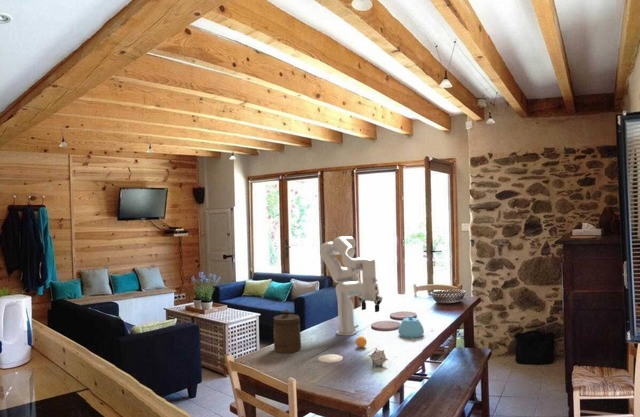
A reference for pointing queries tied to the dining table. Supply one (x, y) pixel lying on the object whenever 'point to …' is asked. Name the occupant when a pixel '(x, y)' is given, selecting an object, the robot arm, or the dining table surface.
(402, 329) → the sugar bowl
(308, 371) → the dining table surface
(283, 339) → the wooden container
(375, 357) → the game die
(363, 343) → the ball
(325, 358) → the cream disc
